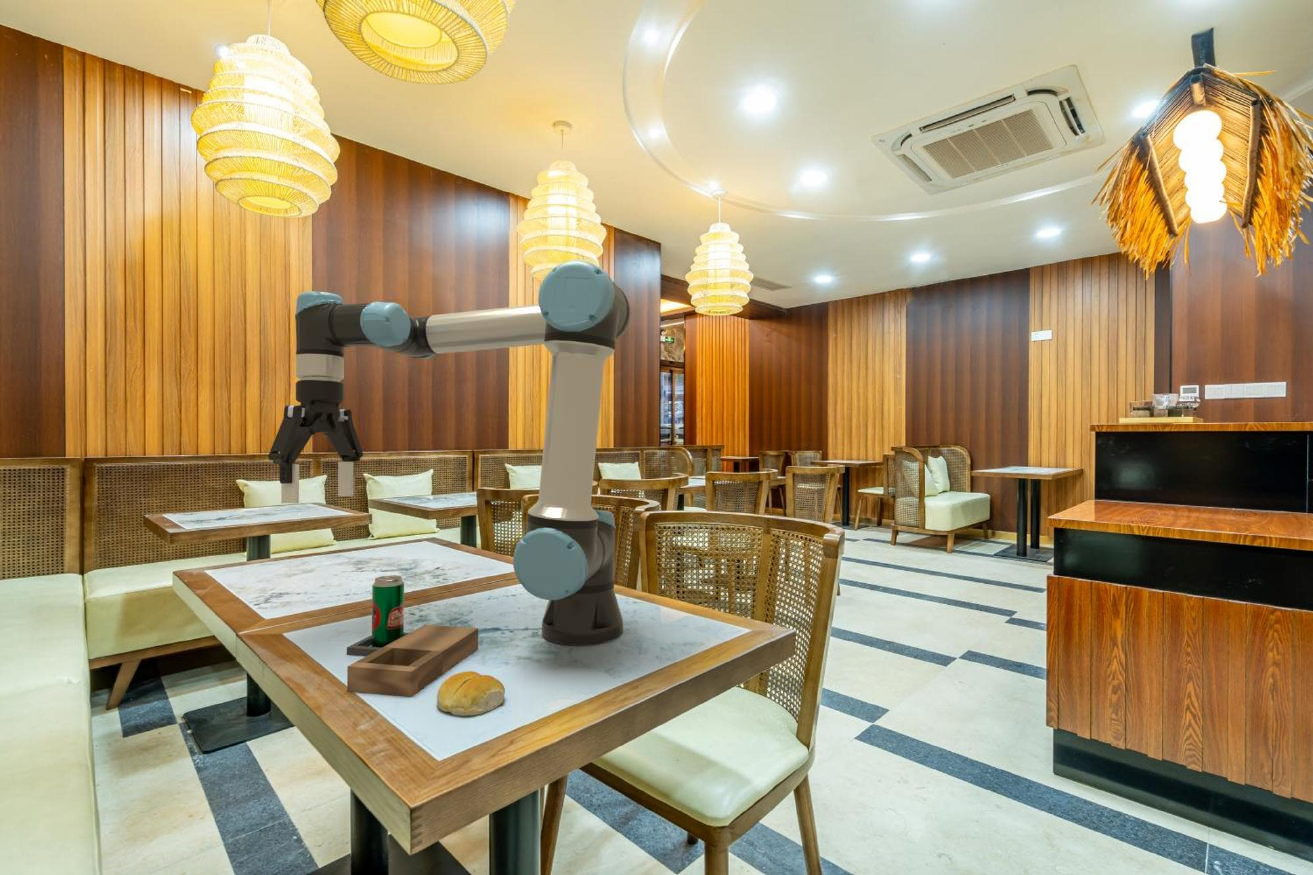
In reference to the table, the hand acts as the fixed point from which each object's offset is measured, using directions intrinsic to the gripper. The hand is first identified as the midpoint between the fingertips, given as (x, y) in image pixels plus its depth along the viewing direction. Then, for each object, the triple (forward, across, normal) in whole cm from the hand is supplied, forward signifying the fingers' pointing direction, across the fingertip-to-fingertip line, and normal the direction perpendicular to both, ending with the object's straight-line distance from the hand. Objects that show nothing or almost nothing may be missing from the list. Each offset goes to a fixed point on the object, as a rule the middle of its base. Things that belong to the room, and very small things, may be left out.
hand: (319, 499), depth 108 cm
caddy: (+25, +8, +25) cm, 36 cm away
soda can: (+25, +1, +14) cm, 29 cm away
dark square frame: (+25, +1, +14) cm, 29 cm away
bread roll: (+26, +18, +39) cm, 50 cm away
